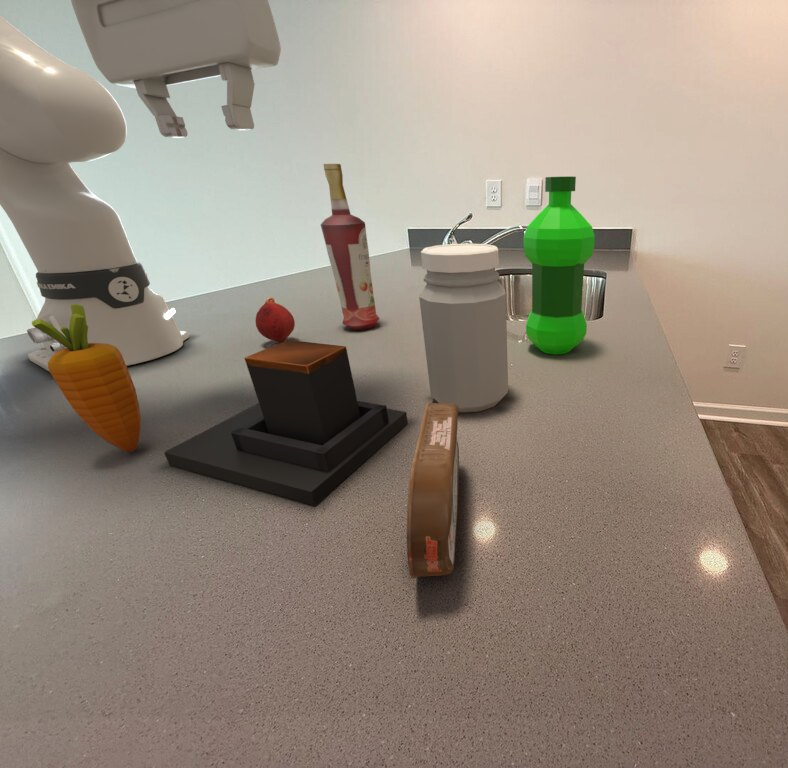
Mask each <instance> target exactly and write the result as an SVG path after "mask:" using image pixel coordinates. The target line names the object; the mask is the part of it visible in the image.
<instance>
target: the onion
mask: <svg viewBox="0 0 788 768" xmlns="http://www.w3.org/2000/svg"><path fill="white" fill-rule="evenodd" d="M295 326H296V322H295V318H294V316H293V314H292V313H291V312H290V310H289V309H287V308H286V307H285V306H283V305H281V304H279V303H277V302H276V301H275V298H274V297H272V296H270V297H267V298H266V300H265V302H264V304H262V306H261V307H260V308H259V310H257V312H256V315H255V327H256V330H257V331H258V332H259V334H260V335H261V336H262V337H264V338H266V339H268V340H270V341H273V342H276V343H277V344H279V343H282V342H284V341H287V339H288V337H289V336H291V334H292V333H293V331H294V329H295Z"/></svg>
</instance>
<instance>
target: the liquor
mask: <svg viewBox="0 0 788 768" xmlns="http://www.w3.org/2000/svg"><path fill="white" fill-rule="evenodd" d="M323 169H324V170H323V171H324V175H325V178H326V180H327V183H328V188H329V189H328V190H329V196H330V199H329V200H330V208H331V215H329V216H328V217H326V218H324V220H323V221H322V222H321V223H320V228H321V232H322V236H323V240H324V245H325V248H326V252H327V256H328V259H329V263H330V267H331V271H332V275H333V278H334V282H335V287H336V290H337V294H338V298H339V302H340V306H341V311H342V315H343V320H342V322H341V324H342V325H344V326H346V327H347V328H349V329H350V330H351V331H366V330H369V329H372V328H374V327H375V326H376V325H377V323H378V322H379V320H380V316H379V315H378V314H377V309H376V302H375V296H374V295H375V294H374V287H373V280H372V279H373V278H372V272H371V261H370V260H371V259H370V251H369V244H368V237H367V227H366V222H365V221H364V220H362V219H361V218H360V217H358V216H355V215H354V214H352V213H351V211H350V207H349V203H348V199H347V195H346V192H345V191H346V190H345V188H344V177H343V176H344V174H343V171H342V164H341V163H323Z"/></svg>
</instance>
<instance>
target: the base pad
mask: <svg viewBox="0 0 788 768" xmlns="http://www.w3.org/2000/svg"><path fill="white" fill-rule="evenodd" d="M357 402H358V407H359V412H360V416H361V418H359V419H358V420H357V421H355V422H354V423H352V424H351V425H350V426H348V427H347V428H346V429H344V430H343V431H342V432H340V433H339V434H338V435H336V436H335V437H333V438H332V439H331V440H329V441H328V442H327V443H325V444H324V445H323V446H322V445H318V444H313V443H309V442H304V441H300V440H295V439H290V438H286V437H281V436H277V435H272V434H269V432H268V429H267V426H266V423H265V420H264V417H263V414H262V410H261V407H260V404H259V402H258V403H256V404H253V405H251V406H250V407H248V408H246V409H244V410H242V411H240V412H238V413H237V414H235V415H232V416H231V417H228V418H226V419H225V420H223V421H221V422H219V423H217V424H215V425H214V426H211V427H210V428H208V429H206V430H204V431H201V432H200V433H198V434H196V435H194V436H192V437H190V438H187V439H186V440H184V441H182V442H181V443H179V444H176V445H175V446H173V447H170V448H168V449H166V451H164V452H163V454H164V456H165V459H166V460H167V463H168V465H169V466H173V467H177V468H179V469H183V470H187V471H190V472H194V473H196V474H202V475H204V476H208V477H212V478H216V479H219V480H222V481H226V482H230V483H234V484H237V485H241V486H244V487H247V488H251V489H254V490H259V491H262V492H266V493H268V494H273V495H275V496H276V495H277V496H280V497H283V498H287V499H291V500H295V501H298V502H301V503H305V504H309V505H312V506H317V505H318V504H319V503H320V502H321V501H322V500H324V499H325V497H327V496H328V495H329V494H330V493H331V492H332V491H334V490H335V489H336V488H337V487H338V486H339V485H340V484H342V482H345V480H346V479H347V478H348V477H350V475H351V474H353V473H354V472H355V471H356V470H357V469H358V468H359V467H361V466H362V465H363V464H364V463H365V462H366V461H367V460H368V459H370V458H371V457H372V456H373V455H374V454H375V453H377V451H379V450H380V449H381V448H382V447H383V446H384V445H386V444H387V442H389V441H390V440H391V439H392V438H393V437H395V435H397V433H399V432H400V431H401V430H402V429H403V428H404V427H406V426H407V425H408V423H409V421H408V416H407V415H408V414H407V411H405V410H404V411H403V410H397V409H392V408H387V405H385V404H379V403H373V402H368V401H360V400H357Z"/></svg>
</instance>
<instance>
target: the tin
mask: <svg viewBox="0 0 788 768" xmlns="http://www.w3.org/2000/svg"><path fill="white" fill-rule="evenodd" d="M458 410H459V408H458V405H457V404H452V403H438V402H431V401H427V402H426V403H425V405H424V410H423V414H422V418H421V422H420V428H419V432H418V436H417V441H416V444H415V450H414V454H413V459H412V462H411V468H410V475H409V482H408V495H407V496H408V497H407V507H406V509H407V510H406V553H407V554H406V555H407V556H406V557H407V566H408V572H409V576H410V578H412V579H416V578H417V577H418V578H419V577H439V576H447V575H450V574H452V572H453V570H454V569H455V568H454V567H455V554H456V543H457V542H456V541H457V528H458V527H457V525H458V513H459V511H458V509H459V476H460V475H459V472H460V450H459V449H460V448H459V442H458V420H459V412H458Z"/></svg>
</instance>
